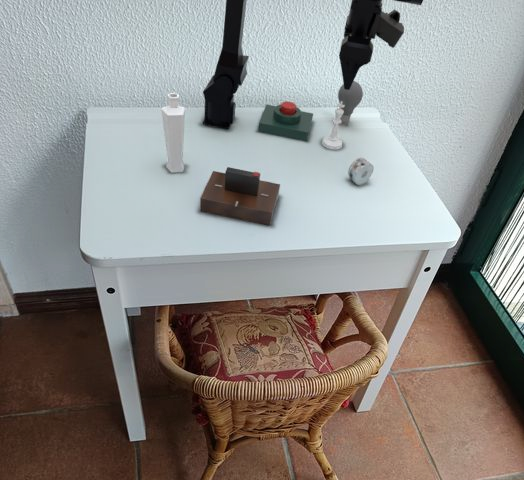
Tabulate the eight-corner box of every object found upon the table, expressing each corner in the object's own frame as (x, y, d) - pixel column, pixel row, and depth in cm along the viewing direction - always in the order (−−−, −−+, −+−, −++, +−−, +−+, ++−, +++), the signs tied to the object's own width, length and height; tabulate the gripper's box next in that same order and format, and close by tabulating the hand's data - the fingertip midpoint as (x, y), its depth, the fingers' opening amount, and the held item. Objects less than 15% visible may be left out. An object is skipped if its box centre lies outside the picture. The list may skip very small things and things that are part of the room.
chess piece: (340, 151, 116) (351, 108, 108) (320, 147, 116) (329, 104, 108) (342, 141, 119) (353, 99, 111) (323, 137, 119) (332, 95, 111)
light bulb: (346, 131, 122) (356, 89, 114) (327, 121, 124) (336, 80, 116) (359, 124, 125) (370, 83, 117) (341, 114, 127) (350, 74, 120)
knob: (224, 189, 95) (225, 170, 92) (226, 185, 96) (227, 165, 93) (256, 196, 95) (259, 176, 92) (258, 191, 96) (260, 172, 93)
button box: (258, 131, 117) (259, 115, 114) (265, 112, 123) (267, 96, 120) (306, 141, 117) (309, 125, 114) (311, 122, 123) (314, 106, 120)
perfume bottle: (166, 160, 105) (162, 88, 93) (186, 163, 105) (185, 91, 94) (162, 172, 102) (158, 99, 90) (183, 174, 102) (182, 102, 91)
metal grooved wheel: (352, 187, 106) (358, 166, 103) (344, 180, 108) (350, 159, 104) (369, 182, 109) (376, 161, 105) (361, 175, 110) (367, 154, 106)
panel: (199, 212, 95) (199, 198, 93) (213, 182, 102) (213, 169, 99) (269, 226, 95) (271, 213, 92) (278, 196, 101) (280, 182, 99)
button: (279, 114, 116) (280, 106, 115) (281, 107, 118) (282, 100, 117) (293, 117, 116) (295, 109, 115) (296, 110, 118) (297, 103, 117)
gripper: (410, 19, 88) (383, 106, 100) (408, -11, 99) (385, 70, 111) (349, 7, 88) (330, 96, 100) (355, -21, 100) (337, 61, 112)
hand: (348, 80), depth 106 cm, fingers open, 9 cm apart
